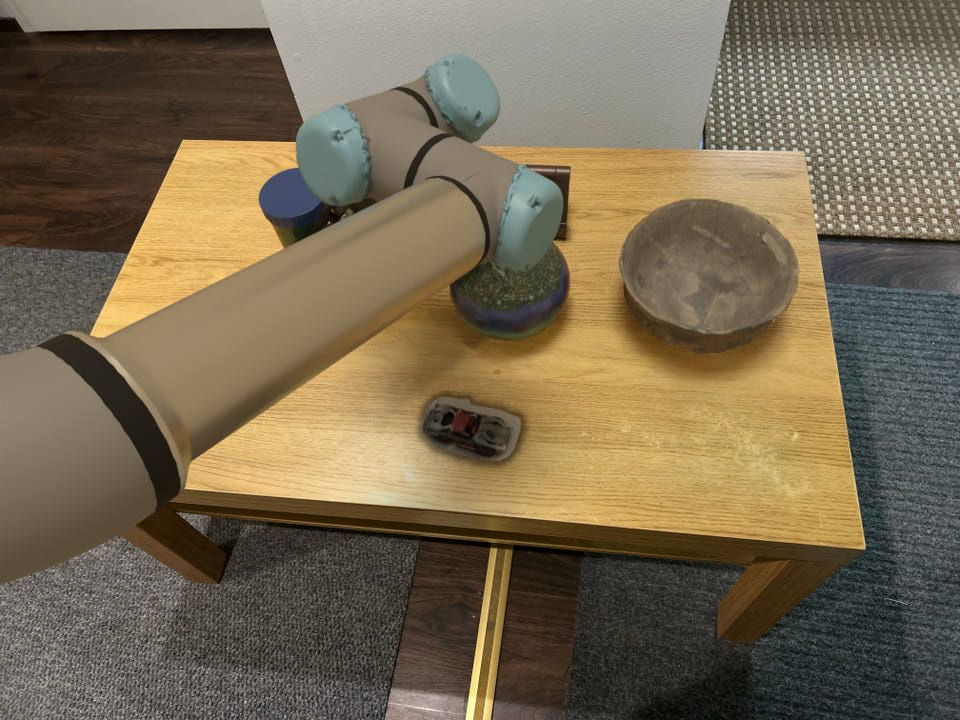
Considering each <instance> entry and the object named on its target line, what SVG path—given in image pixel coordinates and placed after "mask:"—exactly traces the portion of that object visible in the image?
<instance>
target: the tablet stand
mask: <svg viewBox="0 0 960 720" xmlns="http://www.w3.org/2000/svg"><path fill="white" fill-rule="evenodd" d="M524 164H525V165H526V167H527V168H529V169H531V170H532V171H534V172H536V173H538V174H540V175H542V176H543V177H545V178H547V179H549V180H551V181H553V182H554V183H555V184H556V185H557V186H558V187H559V188H560V190H561V193H562V196H563V212H562V217H561V221H560V225H559V228H558V231H557V233H556V236H555V238H557V239H559V238H561V239H565V238H567V230H568V214H569V213H568V212H569V198H570V197H569V196H570V183H571V172H572V171H571V170H572V166H571V165H554V164H532V163H531V164H527V163H524Z"/></svg>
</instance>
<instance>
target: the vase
mask: <svg viewBox="0 0 960 720" xmlns="http://www.w3.org/2000/svg"><path fill="white" fill-rule="evenodd" d="M570 289H571V274H570V269H569V265H568V261H567V260H566V257H565V255H564V253H563V252H562V250H561V249H560V248H559V246H558V245H557V244H556V243H555V242H554V241H553V242H552V244H551V246H550V247H549V249H548V250H547V252H546V253H545V255H544V256H543V257H542V258H541V260H540V261H539V262H538V263H537V264H536V265H535V266H533V267H532V268H530V269H528V270H526V271H514V270H511V269H508V268H506V267H503V266H500V267H499V266H497V265H495V262H493V261H492V260H486V261H484V262H483V263H482V264H480V265H479V266H477V267H475V268H473V269H472V270H470V271H469V272H467V273H466V274H465V275H463V276H462V277H460V278H459V279H457V280H456V281H454V282H453V283H451V284H450V285H449V286H448V291H449V296H450V300H451V303H452V306H453V307H454V309H455V312H456V313H457V315H458V316H459V317H460V319H461V320H462V321H463V322H464V323H465V324H466V326H468V328H470V329H471V330H473V331H475V332H476V333H478V335H482V336H483V337H486V338H489V339H491V340H495V341H502V342H515V341H522V340H527V339H530V338H532V337H535V336H537V335H539V334H541V333H542V332H544V331H545V330H547V329H548V328H549V327H550V326H551V325H553V324H554V323H555V321H556V320H557V319H558V318H559V316H561V314H562V312H563V310H564V308H565V306H566V304H567V301H568V299H569V295H570Z"/></svg>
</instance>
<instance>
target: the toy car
mask: <svg viewBox="0 0 960 720" xmlns="http://www.w3.org/2000/svg"><path fill="white" fill-rule="evenodd" d="M424 416H425V417H424V421H423V424H422V433H423V434H424V435H425V438H427V440H429V442H431V443H432V444H433V445H434V446H436V447H438V448H441V449H442V450H445V451H447V452H450V453H452V454H455V455H459V456H463V457H467V458H470V459H476V460H477V459H478V460H482V461H488V462H500V461H501V460H504V459H507V458H508V457H509V456H510V455H511V454H512V453H513V451H514V450H515V448H516V444H517V443H518V440H519V436H520V433H521V428H522V420H521V418H520V417H519V416H518V415H514V414H510V413H509V412H506V411H504V410H500V409H496V408H492V407H488V406H482V405H481V406H480V405H473V404H472V402H471V400H470V398H465V399H460V398H456V397H450V396H441V397H438V398H436V399H434V400H433V401H432V402H431V403H430V404H429V405H428V406H427V408H426V410H425V415H424Z"/></svg>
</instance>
